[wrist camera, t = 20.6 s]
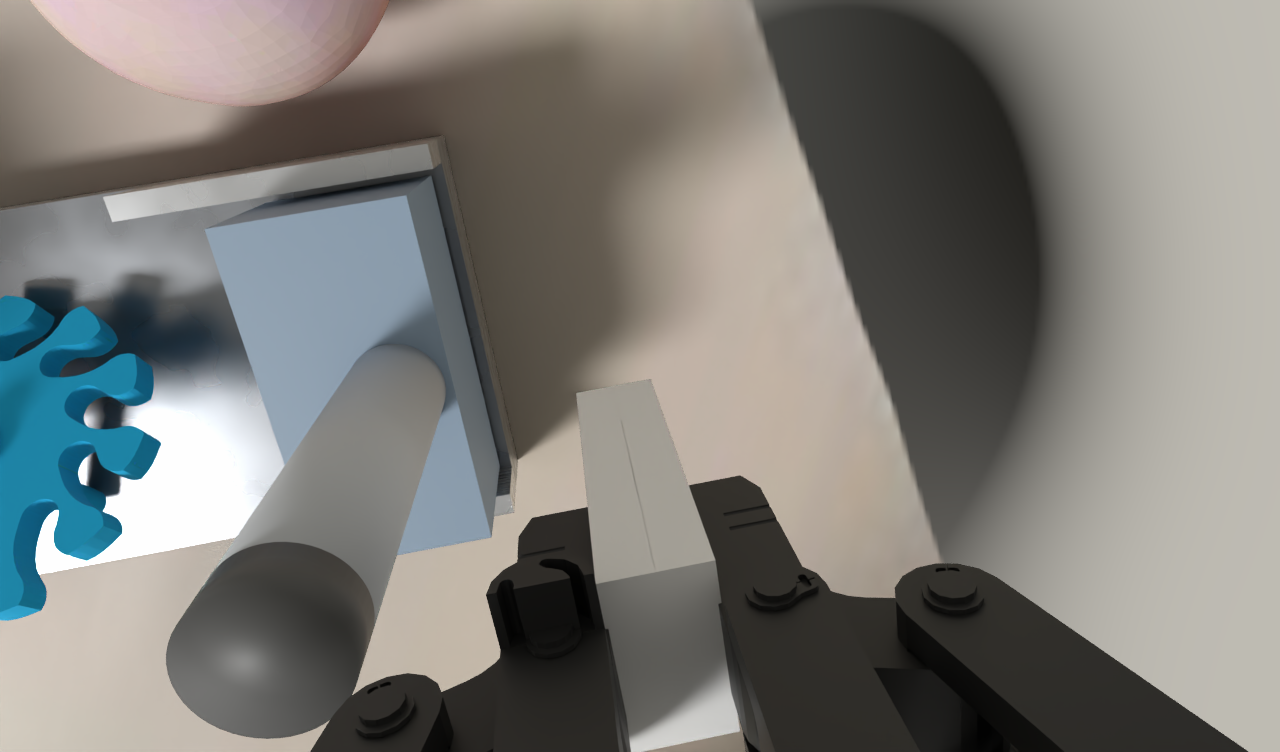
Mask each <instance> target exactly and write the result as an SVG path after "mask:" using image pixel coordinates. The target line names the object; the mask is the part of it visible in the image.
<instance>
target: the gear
mask: <svg viewBox="0 0 1280 752" xmlns="http://www.w3.org/2000/svg"><path fill="white" fill-rule="evenodd" d="M54 318H55V317H54V316H53V315H51V314H50V313H48V312H47V311H45V310H44V309H42V308H41V307H39V306H38V305H36V304H35V303H34V302H32V301H31V300H28V299H25V298H22V297H17V296H6V295H5V296H4V297H2V298H1V299H0V620H14V619H18V618H22V617H25V616H28V615H31V614H33V613H36V612H38V611H41V610H42V608H43V606H44V604H45V601H46V592H47V591H46V587H45V585H44V583H43V581H42V580H41V578H40V576H39V573H38V570H37V564H36V549H37V544H38V539H39V536H40V533H41V529H42V526H43V523H44V521H45V520H46V518H47V517H48V516H49V515H50V514H51V513H52V512H53V511H55V510H58V511H59V514H58V519H57V522H56V526H55V529H54V534H53V542H54V545H55V547H56V549H57V550H58V551H59V552H61V553H62V554H65V555H68V556H71V557H74V558H78V559H81V560H84V561H89V560H91V559H93V558H95V557H96V556H98V555H99V554H101V553H102V552H104V551H105V550H106V549H107V548H108V547H109V546H111V545H112V544H113V543H114V542H115V541H116V540H117V539H118V538H119V537H120V536H121V535H122V534H123V527H122V524H121V522H120V521H119V519H118V518H117V517H115V516H113V515H111V514H108V513H106V512H104V511H103V510H104V509H105V506H106V502H107V501H106V497H105V495H104V494H103V493H102V492H100V491H98V490H96V489H93V488H91V487H89V486H86V485H84V484H82V483H80V479H79V475H78V472H79V468H80V465H81V463H82V462H83V460H84V459H85V458H86V457H88V456H89V455H90V454H92V453H94V452H96V453H97V456H98V459H99V461H100V464H101V465H102V466H103V467H104V468H106V469H107V470H109V471H111V472H113V473H115V474H118V475H120V476H122V477H124V478H126V479H129V480H140V479H142V478H143V477H144V476H145V475H146V473H147V472H148V471H149V469H150V468H151V466H152V465H153V462H154V460H155V458H156V456H157V454H158V451H159V449H160V446H161V442H160V441H159V440H158V439H156V438H154V437H152V436H151V435H149V434H147V433H146V432H144V431H142V430H140V429H139V428H137V427H134V426H123V427H119V428H115V429H94V428H90V427H88V426H87V425H86V424H85V422H84V414H85V411H86V409H87V407H88V406H89V405H90V404H91V403H92V402H93V401H94V400H96V399H98V398H101V397H112V398H115V399H116V400H118V401H119V402H121V403H123V404H125V405H127V406H138V405H142V404H144V403H146V402H148V401H149V400H151V398H152V394H153V389H154V377H153V371H152V366H150V365H149V364H147V363H146V362H145V361H143V360H142V359H140V358H139V357H138V356H136V355H135V354H130V353H127V354H121V355H118V356H116V357H114V358H112V359H110V360H109V361H108V362H106V363H105V364H104V365H102V366H100V367H98V368H96V369H94V370H92V371H90V372H87V373H84V374H81V375H77V376H70V377H60V373H61V370H62V369H63V367H64V366H65V365H66V364H67V363H68V362H70V361H72V360H73V359H76V358H83V357H98V356H101V355H104V354H106V353H108V352H109V351H110V350H112V349H113V348H114V347H115V346H116V344H117V343H118V339H117V336H116V334H115V332H114V330H113V329H112V328H111V327H110V326H109V325H108V324H107V323H106V322H105V321H103V320H102V319H101V318H100V317H98V316H97V315H95V314H94V313H93V312H91V311H90V310H89V309H87V308H86V307H85V306H81V307H78V308H76V309H74V310H72V311H71V312H69V313H68V314H67V315H66V316H65V317H64V318H63V320H62V321H61V323H60V324H59V326H58V327H57V328H56V329H55V331H54V332H53V333H52V334H51V335H50V336H49V337H48V338H47V339H46V340H45V341H43V342H42V343H41V344H39V345H38V346H36V347H35V348H33V349H32V350H30V351H28V352H26V353H24V354H22V355H20V356H18V357H16V358H14V356H15V354H16V352H17V351H18V350H19V349H20V348H21V347H23V346H25V345H26V344H28V343H30V342H33V341H35V340H37V339H39V338H40V337H42V336H43V335H45V334H46V333H47V332H48V331H49V330H50V328H51V327H52V325H53V322H54ZM13 358H14V359H13Z"/></svg>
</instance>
